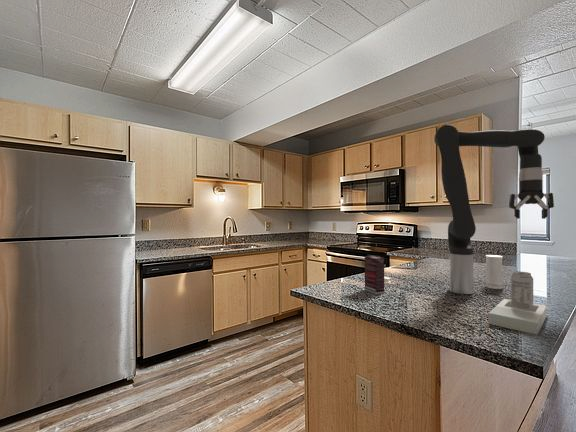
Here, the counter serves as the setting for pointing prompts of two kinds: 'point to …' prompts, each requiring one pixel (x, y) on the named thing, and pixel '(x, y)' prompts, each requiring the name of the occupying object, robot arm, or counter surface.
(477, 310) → the counter surface
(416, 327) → the counter surface
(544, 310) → the socket block
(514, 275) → the energy drink can
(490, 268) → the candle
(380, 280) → the supplement box
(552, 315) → the counter surface
